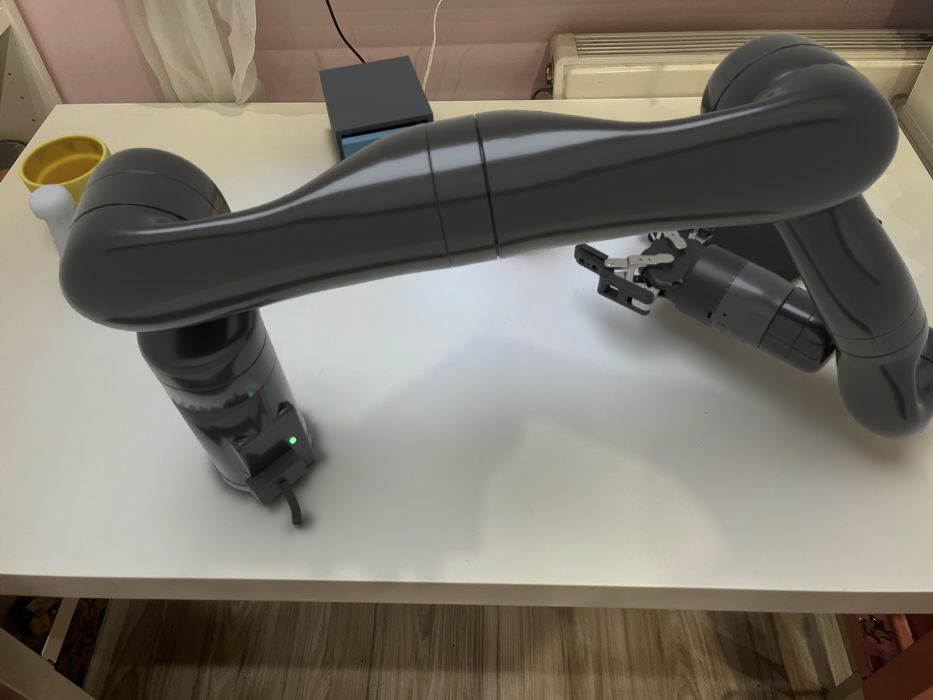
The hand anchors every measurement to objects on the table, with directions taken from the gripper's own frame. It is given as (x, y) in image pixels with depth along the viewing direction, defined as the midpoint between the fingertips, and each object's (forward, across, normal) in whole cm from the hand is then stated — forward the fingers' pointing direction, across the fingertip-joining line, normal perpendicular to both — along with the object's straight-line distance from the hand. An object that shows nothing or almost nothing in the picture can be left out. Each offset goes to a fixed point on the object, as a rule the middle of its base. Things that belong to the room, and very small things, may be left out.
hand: (598, 228), depth 76 cm
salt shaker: (+47, +37, +8) cm, 60 cm away
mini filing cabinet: (+37, -2, +8) cm, 38 cm away
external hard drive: (-13, -18, +8) cm, 23 cm away
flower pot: (+56, +32, +8) cm, 65 cm away
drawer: (+33, +1, +7) cm, 34 cm away
